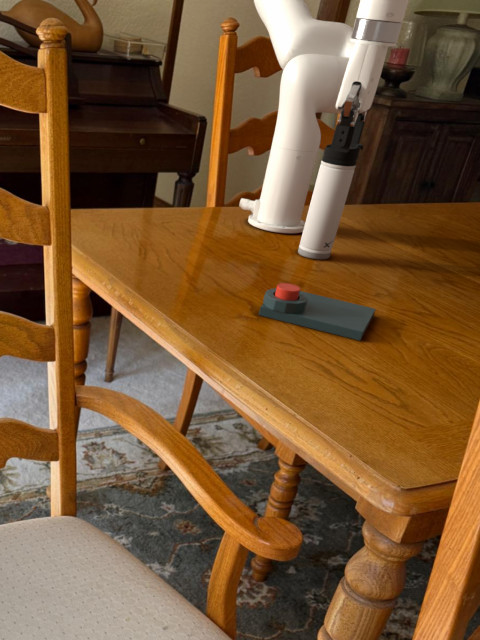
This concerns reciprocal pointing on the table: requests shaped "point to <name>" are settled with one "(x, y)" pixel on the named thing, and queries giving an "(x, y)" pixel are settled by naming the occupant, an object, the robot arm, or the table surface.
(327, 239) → the travel mug
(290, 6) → the robot arm
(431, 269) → the table surface
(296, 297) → the button
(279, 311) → the grey kitchen scale
